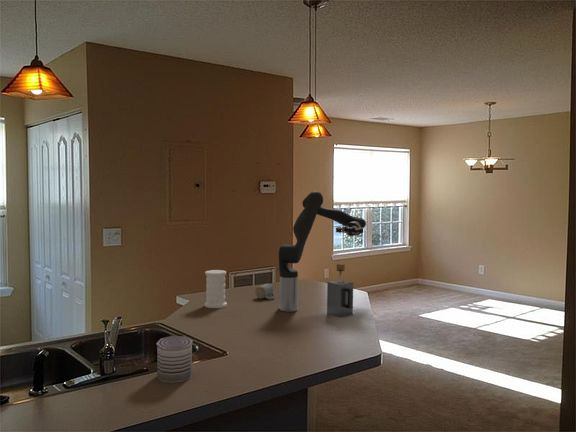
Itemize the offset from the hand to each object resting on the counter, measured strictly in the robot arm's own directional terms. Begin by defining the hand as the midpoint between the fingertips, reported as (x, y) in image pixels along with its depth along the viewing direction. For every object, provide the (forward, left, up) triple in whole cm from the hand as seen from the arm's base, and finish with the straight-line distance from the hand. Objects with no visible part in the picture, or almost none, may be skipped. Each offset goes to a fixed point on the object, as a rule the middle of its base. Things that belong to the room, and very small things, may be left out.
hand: (347, 231), depth 266 cm
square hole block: (+10, -13, -40) cm, 43 cm away
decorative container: (-43, -53, -40) cm, 80 cm away
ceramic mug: (-42, -22, -40) cm, 62 cm away
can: (+35, -115, -40) cm, 127 cm away
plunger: (+9, -13, -35) cm, 39 cm away
